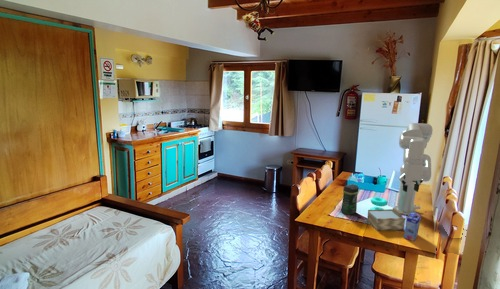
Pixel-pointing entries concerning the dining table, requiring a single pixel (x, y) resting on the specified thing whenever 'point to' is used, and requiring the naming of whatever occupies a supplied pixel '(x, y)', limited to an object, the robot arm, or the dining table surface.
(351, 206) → the coffee jar
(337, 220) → the dining table surface
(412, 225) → the ink cartridge box
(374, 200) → the donuts
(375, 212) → the cover plate
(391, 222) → the birch box
